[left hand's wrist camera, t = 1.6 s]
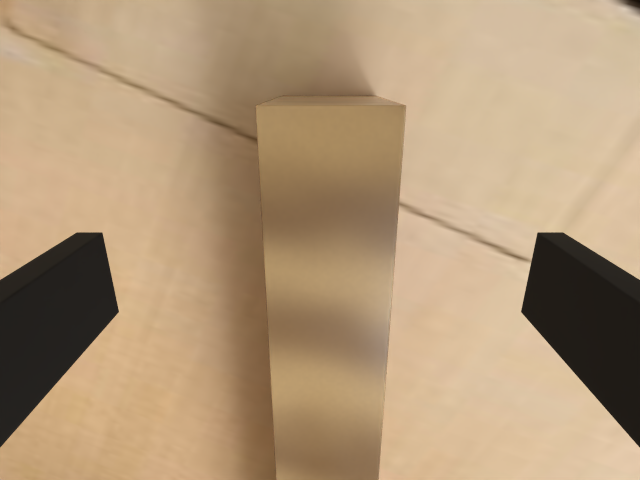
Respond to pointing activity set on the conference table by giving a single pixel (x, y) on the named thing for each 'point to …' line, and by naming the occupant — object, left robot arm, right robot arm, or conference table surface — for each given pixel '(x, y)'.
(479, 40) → the conference table surface
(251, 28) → the conference table surface
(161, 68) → the conference table surface
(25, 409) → the left robot arm
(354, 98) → the beam
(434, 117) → the conference table surface
